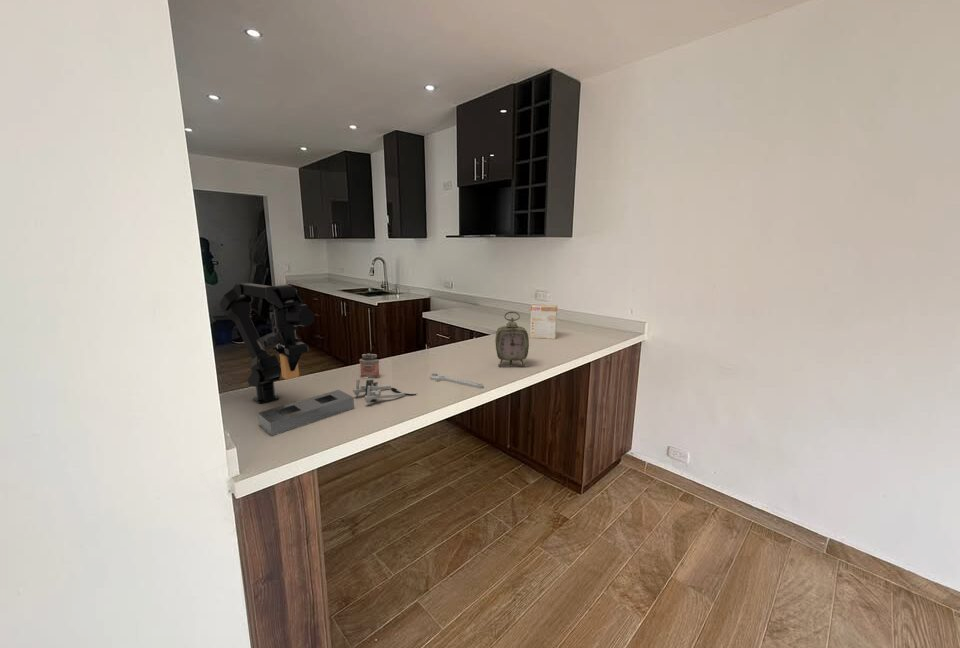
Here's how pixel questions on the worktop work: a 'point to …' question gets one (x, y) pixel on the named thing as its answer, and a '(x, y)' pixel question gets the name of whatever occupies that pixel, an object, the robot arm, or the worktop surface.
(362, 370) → the red labelled jar
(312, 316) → the robot arm
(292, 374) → the square peg
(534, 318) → the coffeecake box
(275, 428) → the block with square holes
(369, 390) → the bike brake
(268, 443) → the worktop surface
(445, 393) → the worktop surface
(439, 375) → the adjustable wrench
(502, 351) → the tabletop clock
